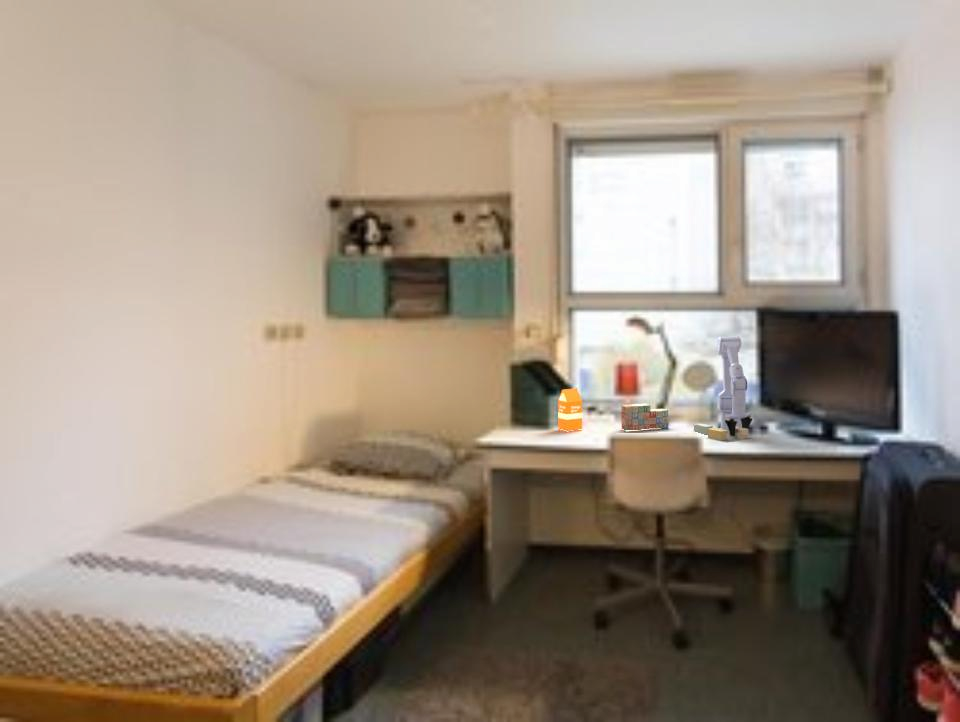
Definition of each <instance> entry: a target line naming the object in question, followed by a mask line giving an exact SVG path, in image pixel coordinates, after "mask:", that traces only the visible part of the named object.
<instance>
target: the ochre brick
mask: <svg viewBox="0 0 960 722" xmlns="http://www.w3.org/2000/svg"><path fill="white" fill-rule="evenodd" d="M727 433H728V431H727V430H723V429H717V427H713V428H710V429H708V438H707V439H709V438H712V439H711V440H713V439H717V440H716V441H718V440H726V439H727Z"/></svg>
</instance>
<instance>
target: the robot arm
mask: <svg viewBox="0 0 960 722" xmlns="http://www.w3.org/2000/svg"><path fill="white" fill-rule="evenodd" d="M741 339H742V338H741V337H740V336H719V337H718V338H717V345H716V346H717V355H719V356H721V359H722V361H721V362H722V385H723V387H722V388H723V390H722V391H720V392H719V393H718V395H717V401H716V406H717V410H718V411H719V412H720V427H719V428H717V427H716V428H717V429H723V430H727V433H729V432H730V435H731V436H735V428H736V427H741V428H746V429H749V428H750V425H751V423H752V422H753V413H752V412H746V396H747V395H746V394H747V393H746V391H747V390H748V379H747V378H746V376H745V374H744V371H743V366H742V364H739V363H740V361H739V352H740V350H741V349H742V348H741V347H742V340H741Z"/></svg>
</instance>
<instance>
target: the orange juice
mask: <svg viewBox="0 0 960 722" xmlns="http://www.w3.org/2000/svg"><path fill="white" fill-rule="evenodd" d="M557 406H558V407H557V411H558V412H557V415H558V416H557V418H558V424H557V425H558V427H557V428H558V429H559V428H560V429H563V430H566V431H569V430H578V429H582V430H583V400H582V397H581V396H580V393H579V390H578V388H577V387H576V388H575V387H574V388H566V389H562V390H561V393H560V394H559V397H558V399H557Z"/></svg>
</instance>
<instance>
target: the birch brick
mask: <svg viewBox="0 0 960 722" xmlns="http://www.w3.org/2000/svg"><path fill="white" fill-rule="evenodd" d="M749 432H750V431H749V428H748V429H746V428H741V427H736V428H735V436H731V435H730V432H728V433H729V436H731V437H736V438H741V439H744V438H749Z"/></svg>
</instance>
